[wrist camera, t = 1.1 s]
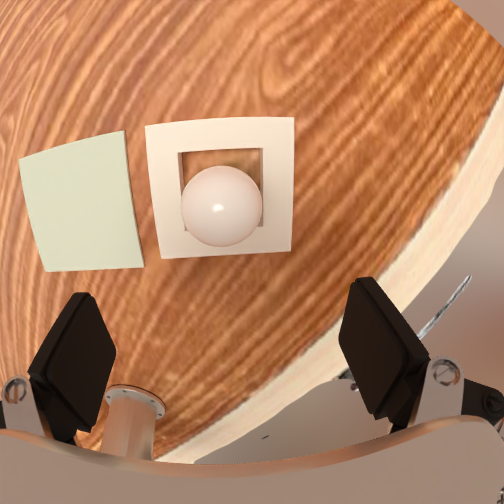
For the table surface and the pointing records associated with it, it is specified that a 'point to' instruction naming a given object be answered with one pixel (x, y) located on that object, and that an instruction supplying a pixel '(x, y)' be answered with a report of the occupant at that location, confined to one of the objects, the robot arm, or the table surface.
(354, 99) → the table surface
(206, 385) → the table surface
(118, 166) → the sage mat
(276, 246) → the pocket holder
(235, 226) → the lightbulb
